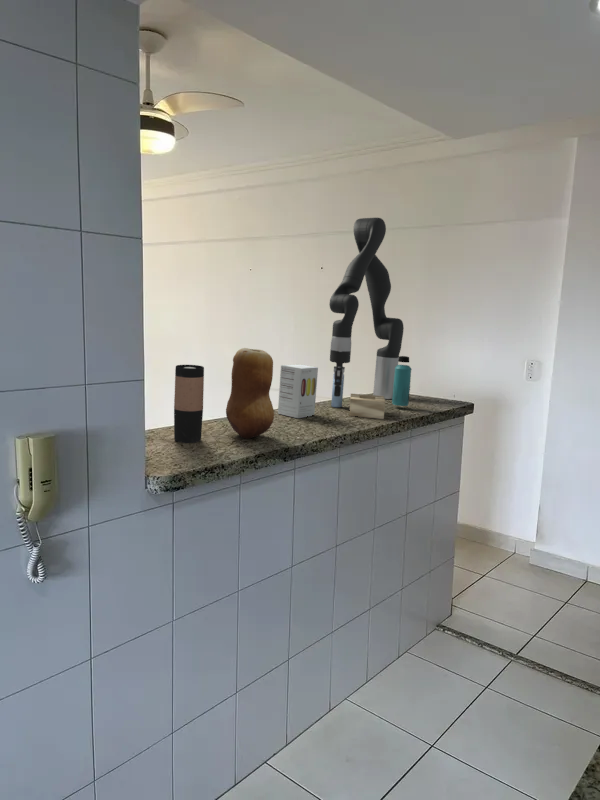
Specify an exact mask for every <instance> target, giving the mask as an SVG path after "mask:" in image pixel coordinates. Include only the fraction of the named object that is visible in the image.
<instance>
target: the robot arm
mask: <svg viewBox="0 0 600 800" xmlns="http://www.w3.org/2000/svg"><path fill="white" fill-rule="evenodd" d="M386 230H387V227H386V222H385V220H384V219H383V218H381V217H362V218H357V219H356V220H355V222H354V224H353V236H354V240H355V244H356V246H357V250H358V254H357V255H356V256H355V257H354V258H353V259H352V260H351V262H349V264H348V266H347V267H346V270H345V272H344V275H343V278H342V280H341V282H340V284H339V285H338V286H337V288H335V290H334V292H333V293H332V295H331V297H330V299H329V309H330V311H332V313H335V314H340V315H342V314H344V315H343V318H342V319H337V320H334V321H333V323H332V334H331V335H332V336H331V339H330V340H331V341H330V350H329V353H330V354H329V361H330V362H331V363H335V365H336V366H333V374H334V380H335V383H334V385H335V391H334V396H338V397H339V396H340V392H341V386H342V383H341V382H342V380H343V374H344V373H345V370H346V367H345V366H343V365H344V364H349V363H351V353H352V332H353V331H352V329H353V326H354V321H355V318H356V315H357V313H358V311H359V303H360V302H359V299H358V297H357V296H356V295H355V293H357V292H359V291H360V289H361V286H362V284H363V281H364V278H365V282H366V283H365V284H366V287H367V291H368V294H369V295H368V296H369V300H370V306H371V311H372V312H371V313H372V323H373V328H374V333H375V336H376V337H377V338H378V339H380V340H384V341H388V343H387V345H386V346H384V347H380V348H378V349H377V350H376V360H375V369H374V370H375V371H374V382H373V394H372V395H377V396H384V399H385V400H392V398H393V396H392V395H393V393H392V392H393V384H394V375H395V367H396V366H397V365H399V362H398V360H399V356H400V353H401V351H402V342H403V335H404V323H403V320H402V319H400V318H397V317H389V316H388V317H387V316H386V311H385V309H386V308H385V305H386V302H387V300H388V298H389V296H390V293H391V290H392V284H391V279H390V274H389V270H388V269H387V267H386V266H385V265H384V263H383V262H382V261H381V259H380V258H378V256H377V255H376V253H378V250H379V248H380V247H381V246H382V243H383V240H384V239H385V236H386V233H387V231H386ZM344 375H345V374H344ZM336 380H340V382H336Z"/></svg>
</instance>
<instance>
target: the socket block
mask: <svg viewBox="0 0 600 800" xmlns="http://www.w3.org/2000/svg"><path fill="white" fill-rule="evenodd" d="M385 408H386V399H384V396H377V395H373V394H362V393H350V400H349V410H350V411H348V412H349V414H348V416H349V417H355V416H358V417H357V418H371V419H381V420H382V419H383V420H384V419H385Z"/></svg>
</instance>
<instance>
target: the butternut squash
mask: <svg viewBox="0 0 600 800" xmlns="http://www.w3.org/2000/svg"><path fill="white" fill-rule="evenodd" d="M273 374H274V360H273V358H272V355H270V354H269V353H268V352H267V351H265V350H263V349H257V348H256V349H255V348H253V349H252V348H248V347H242V348H240V349H238V350H237V351H236V352H235V354H234V355H233V358H232V368H231V389H230V395H229V398H228V400H227V405H226V409H225V415H226V418H227V421H228V423H229V424H230V426H231V428H232V429H233V430H234V432H235V433H236V434H238V435H239V437H241V438H243V439H246V440H248V439H252V438H256V437H258V436H261V435H263V434H264V433H266V432H268V431H269V429H270V428H271V426H272V424H273V423H274V419H275V412H274V411H275V410H274V407H273V403H272V401H271V397H270V390H271V387H272V382H273Z"/></svg>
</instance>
